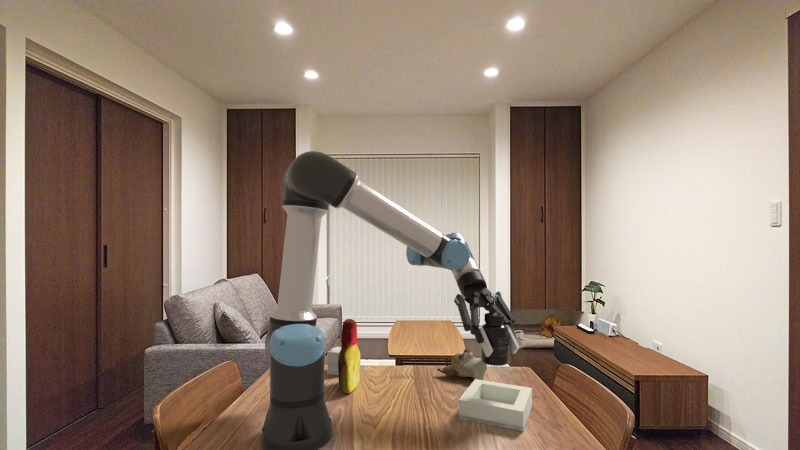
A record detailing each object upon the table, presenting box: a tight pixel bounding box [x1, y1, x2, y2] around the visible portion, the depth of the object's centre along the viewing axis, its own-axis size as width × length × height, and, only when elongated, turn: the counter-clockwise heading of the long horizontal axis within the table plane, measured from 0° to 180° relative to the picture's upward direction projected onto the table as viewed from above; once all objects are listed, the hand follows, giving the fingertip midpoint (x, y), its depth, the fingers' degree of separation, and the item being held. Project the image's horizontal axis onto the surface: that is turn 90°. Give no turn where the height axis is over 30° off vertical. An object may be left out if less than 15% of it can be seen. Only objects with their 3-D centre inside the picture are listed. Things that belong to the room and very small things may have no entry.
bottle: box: [338, 318, 361, 394], centre depth 114 cm, size 12×6×20 cm, turn 177°
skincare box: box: [326, 346, 342, 376], centre depth 127 cm, size 6×6×7 cm
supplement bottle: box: [480, 312, 510, 367], centre depth 99 cm, size 7×7×12 cm
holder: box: [458, 379, 533, 433], centre depth 98 cm, size 15×15×4 cm
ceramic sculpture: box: [436, 349, 488, 380], centre depth 123 cm, size 11×9×15 cm
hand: (503, 352), depth 95 cm, fingers closed on supplement bottle, 7 cm apart
